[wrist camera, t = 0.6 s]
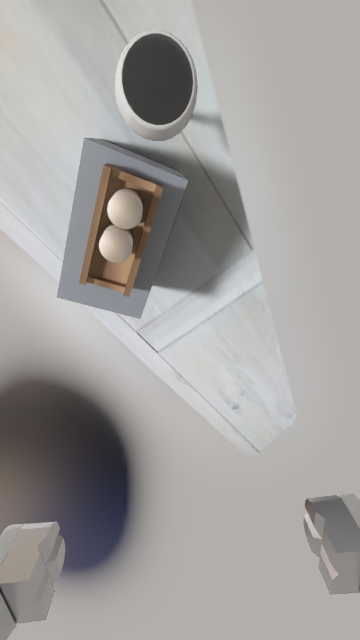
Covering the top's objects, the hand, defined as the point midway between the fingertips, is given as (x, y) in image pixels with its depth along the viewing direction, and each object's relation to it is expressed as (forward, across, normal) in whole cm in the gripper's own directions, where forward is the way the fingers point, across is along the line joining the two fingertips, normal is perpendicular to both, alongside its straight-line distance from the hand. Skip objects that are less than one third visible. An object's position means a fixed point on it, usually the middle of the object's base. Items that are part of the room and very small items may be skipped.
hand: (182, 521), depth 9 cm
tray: (+31, +6, -8) cm, 33 cm away
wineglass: (+41, 0, -24) cm, 47 cm away
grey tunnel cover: (+43, +7, -10) cm, 45 cm away
